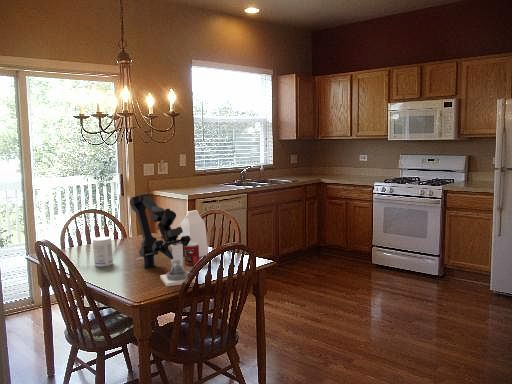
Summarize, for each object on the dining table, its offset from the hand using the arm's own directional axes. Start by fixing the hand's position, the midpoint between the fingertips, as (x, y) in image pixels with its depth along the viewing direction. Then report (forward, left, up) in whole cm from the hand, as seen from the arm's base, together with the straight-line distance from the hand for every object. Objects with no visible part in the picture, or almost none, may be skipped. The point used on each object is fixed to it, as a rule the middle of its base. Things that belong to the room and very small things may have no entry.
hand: (178, 257), depth 224 cm
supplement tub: (-46, -30, -12) cm, 57 cm away
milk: (-43, +20, -12) cm, 49 cm away
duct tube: (-1, 0, -7) cm, 7 cm away
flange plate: (-1, 0, -11) cm, 11 cm away
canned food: (-26, +14, -12) cm, 32 cm away
